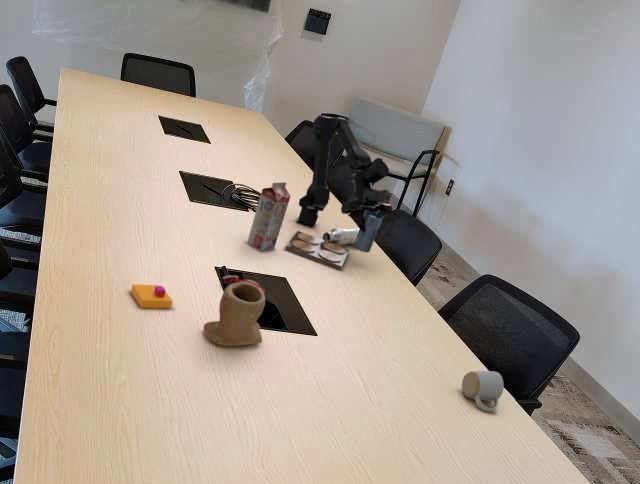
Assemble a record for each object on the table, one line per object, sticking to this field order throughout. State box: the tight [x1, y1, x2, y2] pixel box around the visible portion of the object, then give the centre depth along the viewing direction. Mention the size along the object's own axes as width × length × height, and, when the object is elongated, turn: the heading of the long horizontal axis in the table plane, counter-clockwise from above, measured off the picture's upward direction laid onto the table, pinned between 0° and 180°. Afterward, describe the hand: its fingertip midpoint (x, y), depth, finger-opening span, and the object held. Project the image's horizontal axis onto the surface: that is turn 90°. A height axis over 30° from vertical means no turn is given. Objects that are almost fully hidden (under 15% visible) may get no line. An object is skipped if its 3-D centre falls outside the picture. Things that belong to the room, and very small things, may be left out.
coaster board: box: [284, 230, 350, 271], centre depth 235 cm, size 20×20×2 cm
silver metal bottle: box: [322, 227, 360, 246], centre depth 248 cm, size 6×7×20 cm
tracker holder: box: [222, 274, 266, 294], centre depth 189 cm, size 12×4×10 cm
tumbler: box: [352, 211, 384, 253], centre depth 230 cm, size 6×6×12 cm
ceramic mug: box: [461, 370, 505, 413], centre depth 172 cm, size 11×8×8 cm
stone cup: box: [203, 282, 266, 346], centre depth 161 cm, size 15×12×15 cm
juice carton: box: [246, 181, 292, 252], centre depth 219 cm, size 7×7×22 cm
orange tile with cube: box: [130, 284, 173, 309], centre depth 169 cm, size 8×8×4 cm
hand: (370, 232), depth 229 cm, fingers closed on tumbler, 6 cm apart
